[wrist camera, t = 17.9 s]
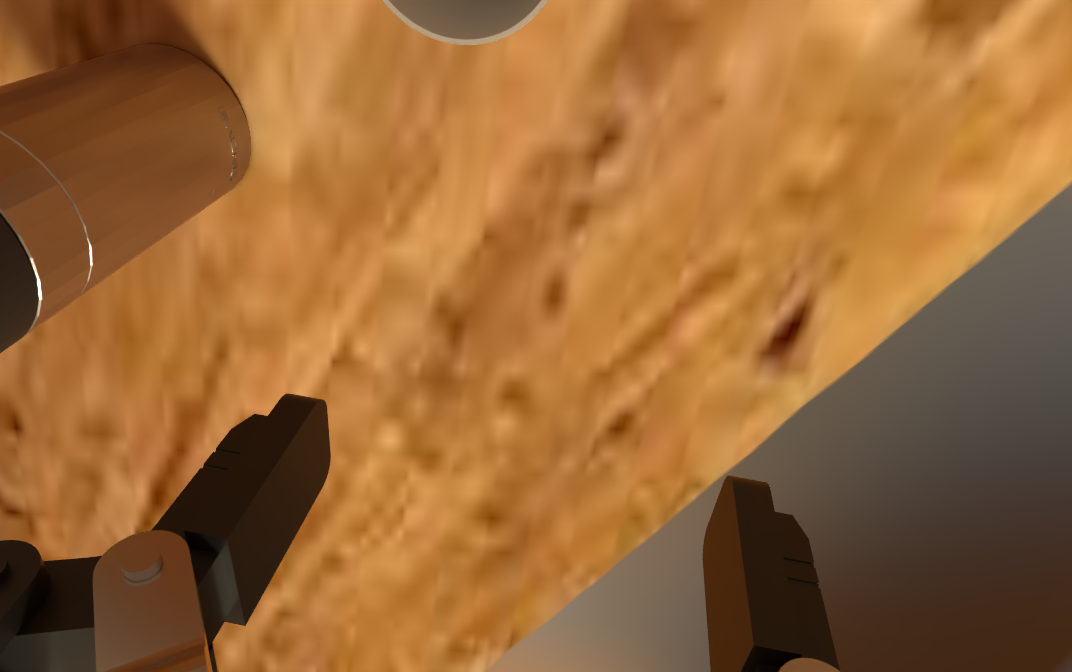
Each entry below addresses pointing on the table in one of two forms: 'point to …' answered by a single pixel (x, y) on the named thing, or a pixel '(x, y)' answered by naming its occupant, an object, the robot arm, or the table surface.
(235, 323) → the table surface
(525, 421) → the table surface
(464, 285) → the table surface
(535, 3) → the cup
